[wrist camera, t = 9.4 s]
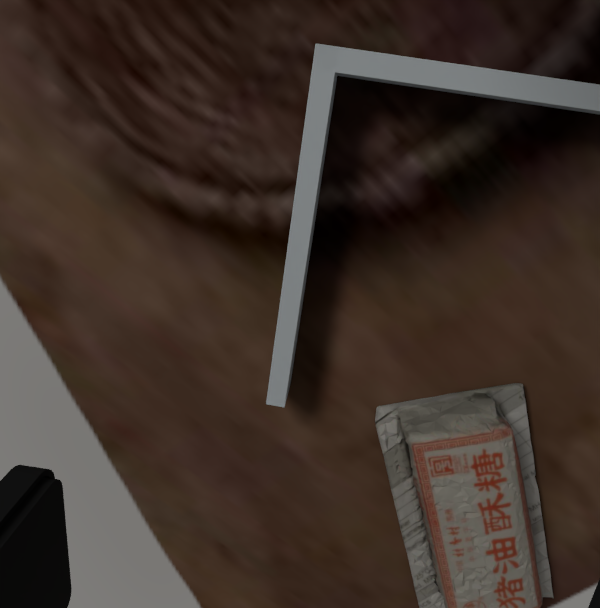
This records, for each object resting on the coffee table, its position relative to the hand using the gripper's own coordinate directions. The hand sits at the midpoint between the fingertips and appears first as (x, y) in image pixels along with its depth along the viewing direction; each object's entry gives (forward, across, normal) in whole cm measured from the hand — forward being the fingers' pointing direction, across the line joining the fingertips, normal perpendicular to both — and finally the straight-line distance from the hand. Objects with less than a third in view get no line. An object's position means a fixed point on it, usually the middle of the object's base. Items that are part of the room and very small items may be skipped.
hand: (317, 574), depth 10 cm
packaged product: (+26, -11, +19) cm, 34 cm away
